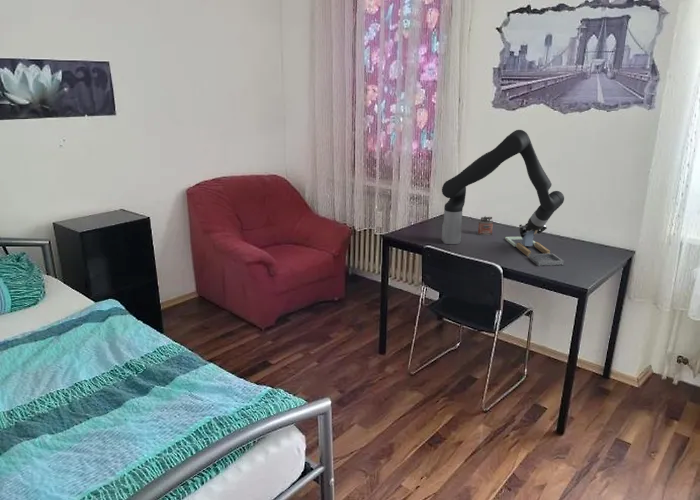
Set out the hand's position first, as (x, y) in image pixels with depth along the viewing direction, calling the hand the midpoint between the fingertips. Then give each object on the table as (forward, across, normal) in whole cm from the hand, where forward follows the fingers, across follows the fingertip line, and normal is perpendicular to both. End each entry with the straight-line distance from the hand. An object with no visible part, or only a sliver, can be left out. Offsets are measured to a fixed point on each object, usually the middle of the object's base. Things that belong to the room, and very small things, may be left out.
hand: (526, 235), depth 263 cm
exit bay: (+7, 0, 0) cm, 7 cm away
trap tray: (-13, 0, +21) cm, 25 cm away
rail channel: (-3, 0, +10) cm, 10 cm away
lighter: (+20, +14, -12) cm, 27 cm away
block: (+2, 0, +4) cm, 5 cm away
